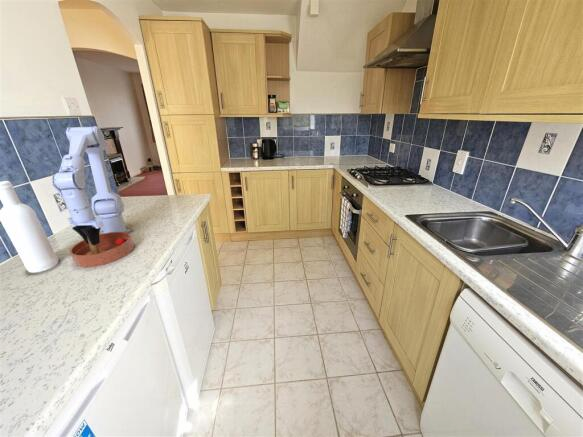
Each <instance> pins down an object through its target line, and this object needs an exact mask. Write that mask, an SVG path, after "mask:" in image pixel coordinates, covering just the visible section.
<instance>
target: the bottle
mask: <svg viewBox="0 0 583 437" xmlns="http://www.w3.org/2000/svg"><path fill="white" fill-rule="evenodd" d="M0 202H1V204H2V208H1V209H0V223H1V225H2V226H3V228H4V230H5V232H6V234H7V236H8V238H9V239H10V241H11V243H12V245H13V246H14V249H15V250H16V253H17V254H18V256H19V258H20V260H21V261H22V263H23V266H24V268H25V270H27V272H28V273H30V274H31V273H39V272H43V271H46V270H49V269H51V268H53V267H55V266H57V265H58V264H59V259H58V256H57V254H56V252H55V251H54V249H53V246H52V244H51V242H50V240H49V238H48V235H47V234H46V232H45V230H44V228H43V227H44V226H43V225H42V223H41V221H40V219H39V217H38V214H37V213H36V211H35V210H34V209H33V208H32V206H30V205H28V204H25V203H23V202H21V201H20V199H19V196H18V195H17V192H16V190H15V189H14V185H13V184H12V183H11V181H9V180H3V181H0Z"/></svg>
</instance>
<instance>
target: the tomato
mask: <svg viewBox="0 0 583 437" xmlns="http://www.w3.org/2000/svg"><path fill="white" fill-rule="evenodd" d="M115 243H116V245H118V246H120V245H122V244H123V243H125V240H124V239H122V238H119V239H117V240H116V242H115Z"/></svg>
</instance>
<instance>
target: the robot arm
mask: <svg viewBox="0 0 583 437" xmlns="http://www.w3.org/2000/svg"><path fill="white" fill-rule="evenodd" d="M65 135H66V138H67V140H68V142H69V149H68V154H65V155H63V157H62V160H61V163H60V167H59V169H58V172H55V173H54V174H53V175H52V177H51V182H52V187H53V188H54V189H55V190H56V191H57V192H58V194H59V196H60V197H63V200H64V203H65V205H66V208H67V210H68V213H69V215H70V217H69V218H68V217H67V221H68V223H69V226H70V227H72V230H73V231H74V232H76V233H77V234H78V235H79V236H80V237H81V238H82V240H85V242H86V243H87V244H89V242H88V239H89V241H90V242H91V244H92V245H96V244H98V243H100V238H99V235H100V234H104V233H110V232H126V233H129V232H130V231H132V229H130V228H127V227H126V224H125V220H124V217H123V212H124V211H125V204H124V202H123V199H122V197H121V195H120V194H118V193H116V192H114V191H112V188H111V183H110V179H109V174H108V170H107V164H106V160H105V156H104V151H105V150H107V144H106V139H105V135H104V133H103V131H102V130H101V128H100V127H99V126H96V125H94V126H76V127H73V126H68V127H66V130H65ZM85 153H86V154H87V157H88V161H89V165H90V169H91V174H92V178H93V182H94V187H95V191H96V194H94V195H93V196H92V197H91V199H90V202H91V204H90V202H89V199H88V196H87V193H86V191H85V187H86V180H85V174H84V171H85V167H86V160H85V159H84V155H85ZM87 237H88V239H87Z"/></svg>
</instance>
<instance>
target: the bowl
mask: <svg viewBox="0 0 583 437" xmlns="http://www.w3.org/2000/svg"><path fill="white" fill-rule="evenodd" d="M99 238H100V243H98V244H97V245H98V249H99V250H105V252H102V253H98V254H93V255H86V254H87V253H89V252H91V250H90V246H89V244H87V243H86V242H85V240H84V239H82V240H80V241H79V242H77V243H75V244H74V245H73V246H71V247H70V249H69V252H68V253H69V255H70V257H71V260H72V262H73V264H74V265H75V266H76V267H80V268H94V267H100V266H105V265H107V264H111V263H114V262H116V261H119V260H121V259H122V258H124V257H126V256H128V255H129V254H130V253H132V251H133V250H134V248H135V244H134V242H133V238H132V235H131V234H130V233H129V232H110V233H104V234H102V233H99ZM119 238H122V239H124V240H125V243H123V244H122V245H120V246H118V245H116V243H115V242H116V240H117V239H119Z"/></svg>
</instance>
